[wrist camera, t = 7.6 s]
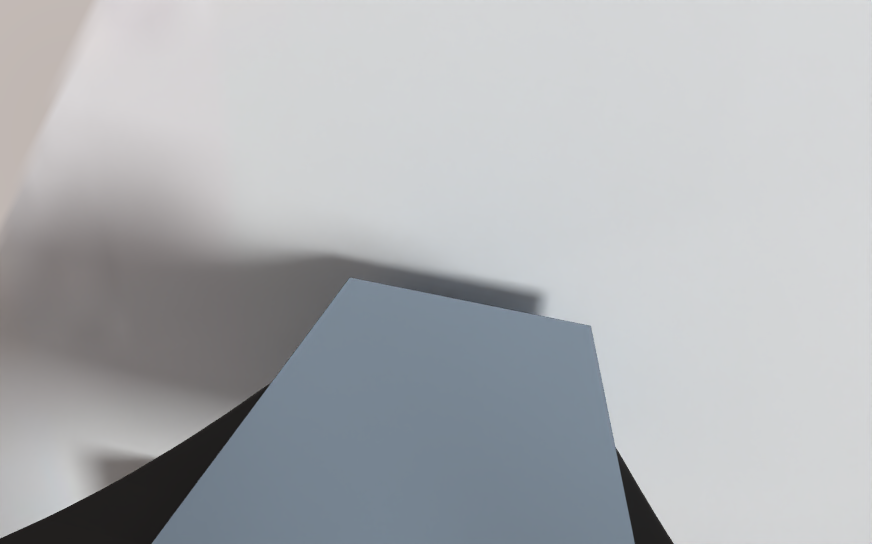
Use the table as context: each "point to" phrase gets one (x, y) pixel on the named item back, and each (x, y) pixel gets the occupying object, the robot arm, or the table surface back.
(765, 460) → the table surface
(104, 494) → the robot arm
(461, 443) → the slate block
